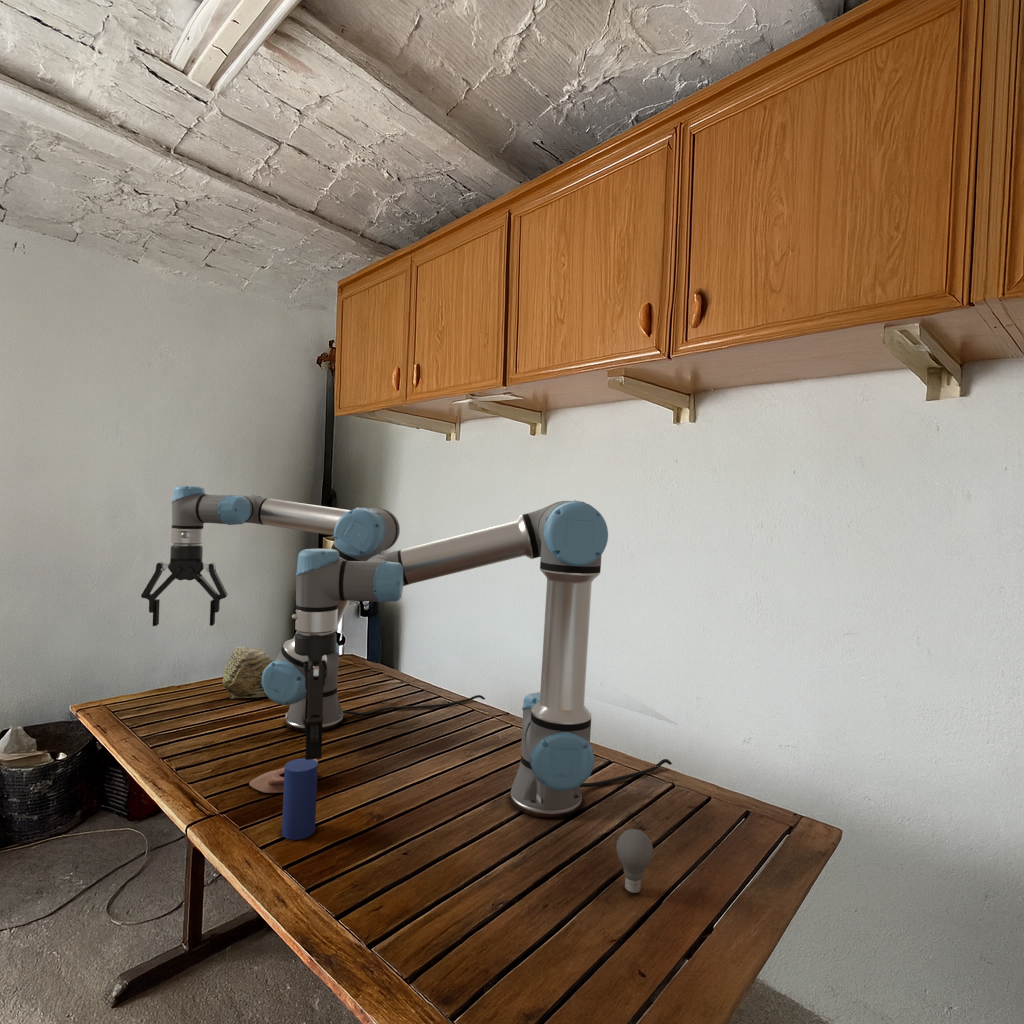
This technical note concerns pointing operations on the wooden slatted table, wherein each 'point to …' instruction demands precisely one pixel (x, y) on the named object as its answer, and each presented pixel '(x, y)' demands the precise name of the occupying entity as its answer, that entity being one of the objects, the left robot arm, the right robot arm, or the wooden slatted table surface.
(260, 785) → the anatomical model
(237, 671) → the fossil
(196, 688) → the wooden slatted table surface
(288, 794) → the cylinder
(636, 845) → the light bulb
